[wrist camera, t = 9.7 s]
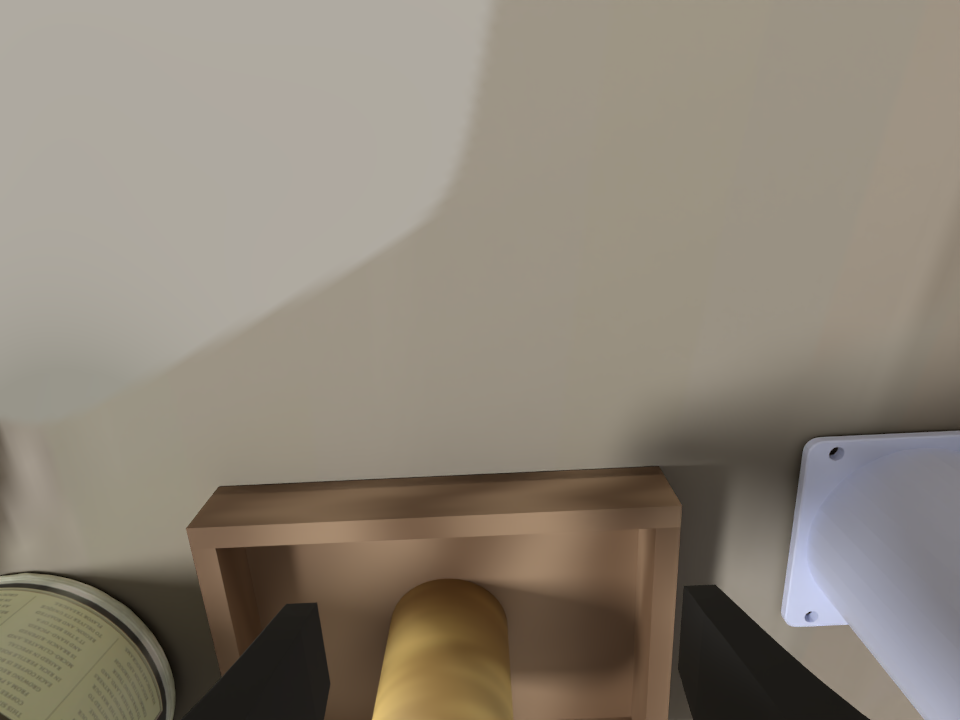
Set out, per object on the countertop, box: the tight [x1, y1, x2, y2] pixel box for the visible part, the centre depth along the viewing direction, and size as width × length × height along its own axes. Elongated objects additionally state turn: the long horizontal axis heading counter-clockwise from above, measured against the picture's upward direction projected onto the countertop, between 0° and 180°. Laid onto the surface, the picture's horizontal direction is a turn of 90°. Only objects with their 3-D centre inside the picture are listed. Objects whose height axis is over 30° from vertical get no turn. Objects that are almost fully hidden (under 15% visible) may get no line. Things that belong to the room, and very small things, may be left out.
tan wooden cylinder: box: [372, 579, 513, 720], centre depth 20 cm, size 4×4×6 cm
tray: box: [186, 466, 682, 720], centre depth 23 cm, size 16×12×3 cm
